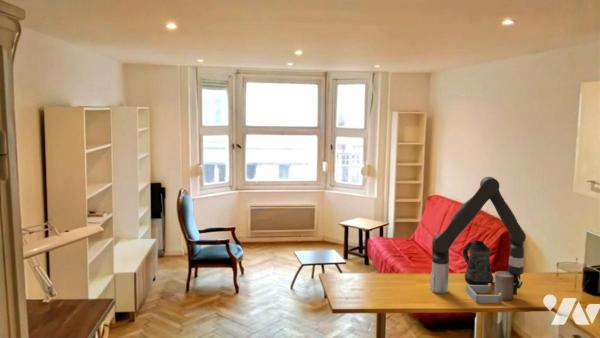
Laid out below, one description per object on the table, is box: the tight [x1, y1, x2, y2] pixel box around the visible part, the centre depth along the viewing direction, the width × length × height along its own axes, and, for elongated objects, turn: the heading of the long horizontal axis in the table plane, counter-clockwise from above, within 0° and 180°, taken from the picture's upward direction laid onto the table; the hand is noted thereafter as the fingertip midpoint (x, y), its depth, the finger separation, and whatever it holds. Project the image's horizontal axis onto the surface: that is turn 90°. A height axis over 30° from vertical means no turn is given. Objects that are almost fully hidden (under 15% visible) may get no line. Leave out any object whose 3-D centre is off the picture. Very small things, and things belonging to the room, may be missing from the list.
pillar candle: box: [493, 270, 514, 302], centre depth 247 cm, size 10×10×15 cm
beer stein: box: [462, 240, 494, 286], centre depth 271 cm, size 16×19×25 cm
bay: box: [465, 283, 502, 304], centre depth 248 cm, size 14×15×5 cm
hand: (514, 294), depth 247 cm, fingers closed
